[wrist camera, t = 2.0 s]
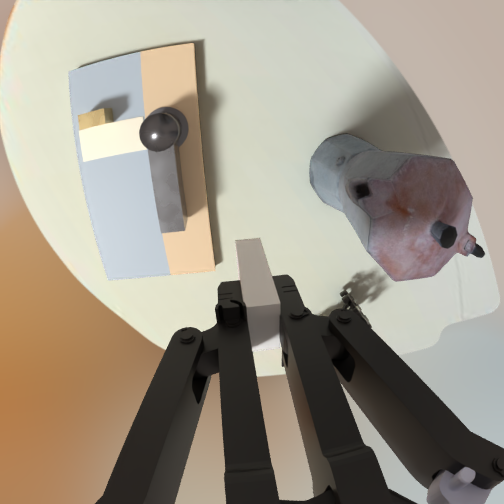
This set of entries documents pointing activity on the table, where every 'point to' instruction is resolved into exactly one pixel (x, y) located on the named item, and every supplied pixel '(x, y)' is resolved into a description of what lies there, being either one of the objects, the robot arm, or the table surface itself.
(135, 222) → the door panel
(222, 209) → the table surface
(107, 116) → the block
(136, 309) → the table surface
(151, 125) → the latch bar
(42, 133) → the table surface
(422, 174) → the moka pot
